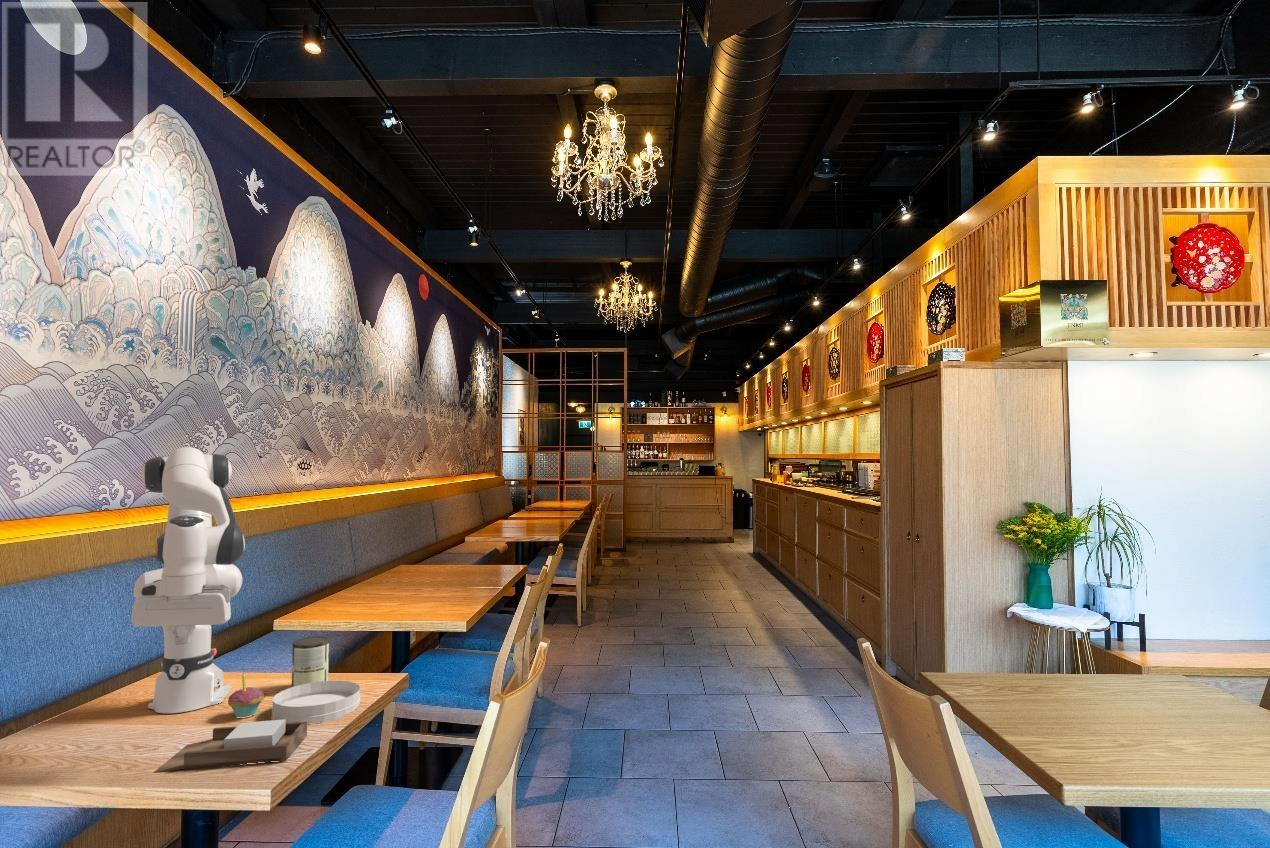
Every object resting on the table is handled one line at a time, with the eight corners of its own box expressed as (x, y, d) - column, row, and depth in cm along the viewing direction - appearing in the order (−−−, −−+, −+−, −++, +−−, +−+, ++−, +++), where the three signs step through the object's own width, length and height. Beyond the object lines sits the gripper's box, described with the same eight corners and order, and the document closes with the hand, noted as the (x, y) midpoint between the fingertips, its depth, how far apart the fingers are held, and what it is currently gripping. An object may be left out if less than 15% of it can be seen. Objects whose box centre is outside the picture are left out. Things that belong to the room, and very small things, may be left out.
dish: (376, 699, 191) (376, 682, 191) (327, 729, 169) (328, 709, 169) (307, 696, 194) (307, 678, 195) (251, 724, 173) (252, 704, 173)
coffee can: (285, 688, 201) (286, 640, 202) (318, 679, 209) (320, 634, 210) (300, 695, 194) (301, 646, 195) (334, 686, 202) (335, 639, 203)
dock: (186, 747, 159) (187, 729, 159) (306, 738, 164) (307, 721, 164) (153, 775, 144) (154, 755, 145) (285, 764, 149) (286, 745, 149)
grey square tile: (240, 740, 159) (240, 722, 159) (285, 736, 161) (285, 719, 162) (223, 757, 149) (224, 739, 150) (272, 752, 152) (272, 735, 152)
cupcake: (255, 720, 175) (257, 673, 176) (220, 722, 173) (222, 675, 174) (268, 708, 183) (269, 664, 184) (235, 710, 182) (236, 666, 183)
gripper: (236, 581, 163) (234, 638, 162) (143, 583, 159) (141, 641, 158) (225, 587, 156) (223, 646, 156) (128, 589, 153) (126, 649, 152)
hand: (181, 644), depth 157 cm, fingers closed
